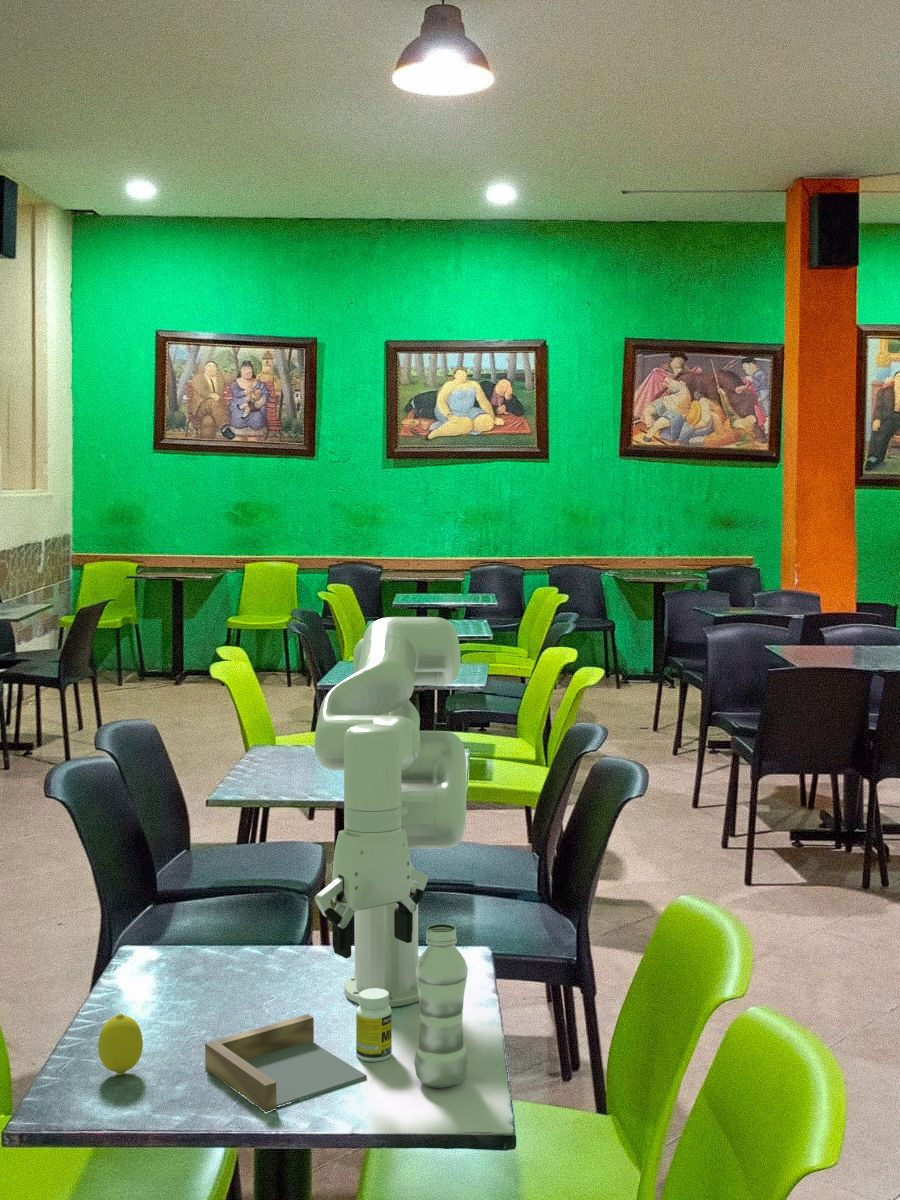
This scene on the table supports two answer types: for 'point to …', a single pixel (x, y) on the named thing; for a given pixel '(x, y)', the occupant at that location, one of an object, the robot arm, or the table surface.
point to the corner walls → (232, 1052)
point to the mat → (305, 1071)
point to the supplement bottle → (373, 1025)
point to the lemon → (120, 1044)
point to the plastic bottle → (441, 1009)
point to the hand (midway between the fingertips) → (373, 947)
